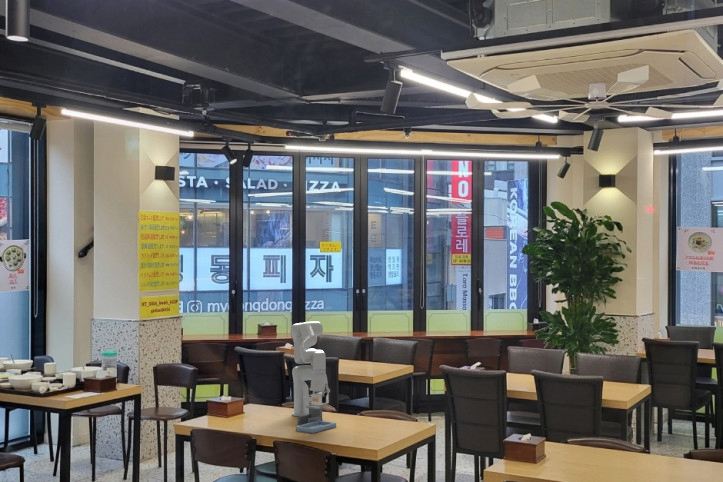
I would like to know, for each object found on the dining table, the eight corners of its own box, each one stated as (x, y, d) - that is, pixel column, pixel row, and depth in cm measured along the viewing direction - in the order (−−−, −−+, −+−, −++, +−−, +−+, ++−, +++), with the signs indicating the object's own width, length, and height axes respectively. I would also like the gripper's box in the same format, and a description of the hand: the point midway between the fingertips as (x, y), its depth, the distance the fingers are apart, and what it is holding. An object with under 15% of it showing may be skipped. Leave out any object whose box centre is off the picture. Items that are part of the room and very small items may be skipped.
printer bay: (310, 421, 500) (310, 404, 501) (322, 422, 495) (322, 406, 495) (297, 424, 491) (297, 408, 491) (309, 426, 485) (309, 409, 485)
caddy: (320, 402, 486) (320, 392, 486) (328, 403, 483) (328, 393, 483) (302, 406, 473) (302, 396, 473) (310, 407, 469) (310, 397, 470)
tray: (319, 424, 490) (319, 420, 490) (336, 427, 482) (336, 422, 482) (295, 430, 473) (295, 426, 473) (313, 433, 465) (313, 429, 465)
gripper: (304, 371, 483) (304, 401, 483) (326, 374, 473) (326, 404, 472) (312, 370, 489) (312, 400, 489) (334, 372, 479) (334, 402, 478)
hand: (319, 402), depth 481 cm, fingers closed on caddy, 6 cm apart
